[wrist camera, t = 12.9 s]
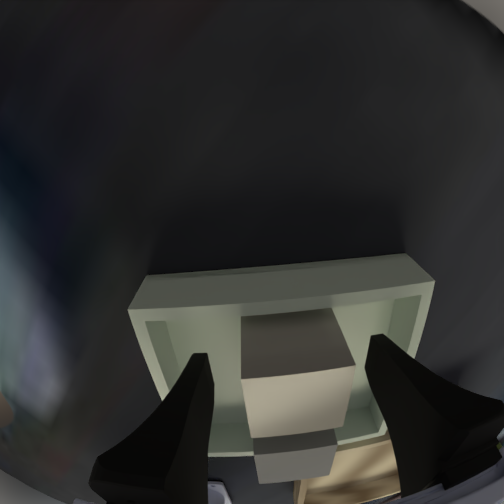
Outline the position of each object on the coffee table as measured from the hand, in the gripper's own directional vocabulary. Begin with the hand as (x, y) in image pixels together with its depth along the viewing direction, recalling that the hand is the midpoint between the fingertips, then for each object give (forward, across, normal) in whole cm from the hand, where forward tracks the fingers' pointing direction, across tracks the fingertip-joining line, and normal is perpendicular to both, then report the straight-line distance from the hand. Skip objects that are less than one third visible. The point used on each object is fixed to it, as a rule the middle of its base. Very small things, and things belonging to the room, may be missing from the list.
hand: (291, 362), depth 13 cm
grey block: (+3, 0, +6) cm, 6 cm away
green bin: (+3, 0, +3) cm, 4 cm away
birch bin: (+3, -8, +18) cm, 20 cm away
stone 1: (+3, 0, 0) cm, 3 cm away
